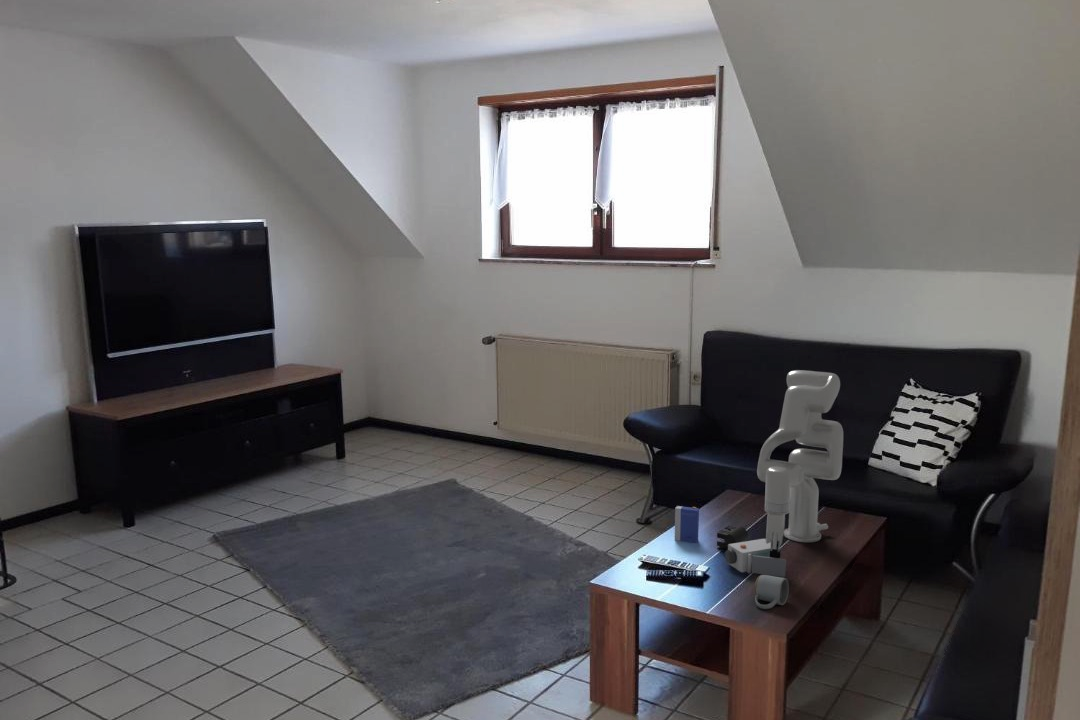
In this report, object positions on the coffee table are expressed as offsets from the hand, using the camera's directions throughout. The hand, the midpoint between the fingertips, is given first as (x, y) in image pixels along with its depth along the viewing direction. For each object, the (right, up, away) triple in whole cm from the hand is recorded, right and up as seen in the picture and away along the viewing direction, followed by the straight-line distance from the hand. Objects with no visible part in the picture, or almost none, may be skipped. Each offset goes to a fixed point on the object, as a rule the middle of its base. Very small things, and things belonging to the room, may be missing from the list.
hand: (774, 562), depth 271 cm
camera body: (-5, -2, +6) cm, 9 cm away
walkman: (-23, +1, +28) cm, 36 cm away
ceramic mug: (-7, -7, -21) cm, 24 cm away
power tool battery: (-9, 0, +21) cm, 23 cm away
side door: (-3, -4, -2) cm, 5 cm away
